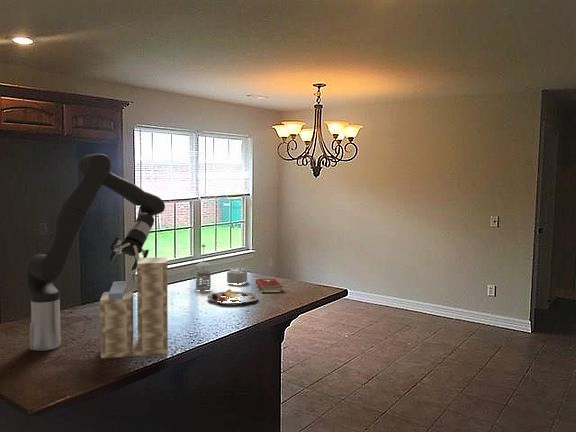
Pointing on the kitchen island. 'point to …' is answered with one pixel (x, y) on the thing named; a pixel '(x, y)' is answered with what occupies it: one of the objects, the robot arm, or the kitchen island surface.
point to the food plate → (231, 296)
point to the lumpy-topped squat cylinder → (237, 275)
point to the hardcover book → (269, 284)
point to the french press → (203, 273)
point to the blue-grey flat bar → (117, 290)
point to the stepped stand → (149, 314)
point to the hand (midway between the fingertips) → (121, 265)
